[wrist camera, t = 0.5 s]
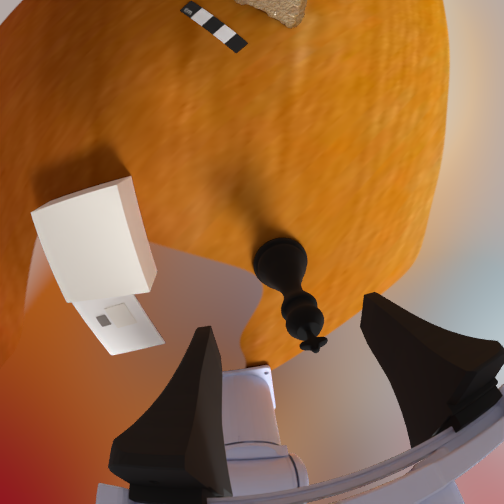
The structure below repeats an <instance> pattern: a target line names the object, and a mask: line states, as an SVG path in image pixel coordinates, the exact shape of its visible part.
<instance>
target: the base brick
mask: <svg viewBox="0 0 504 504" xmlns="http://www.w3.org/2000/svg"><path fill="white" fill-rule="evenodd" d="M31 216H32V219H33V222H34V225H35V228H36V231H37V234H38V236H39V239H40V242H41V245H42V247H43V250H44V253H45V255H46V258H47V260H48V262H49V264H50V267H51V269H52V272H53V274H54V276H55V279H56V281H57V283H58V285H59V287H60V289H61V292H62V294H63V295H64V298H65V299H66V302H67V303H70V302H78V301H87V300H95V299H102V298H110V297H118V296H125V295H133V294H140V293H147V292H150V291H151V288H152V285H153V282H154V279H155V277H156V274H157V269H156V265H155V262H154V259H153V256H152V253H151V249H150V246H149V243H148V239H147V236H146V232H145V229H144V225H143V221H142V218H141V214H140V210H139V206H138V202H137V198H136V194H135V190H134V186H133V182H132V177H131V176H128V177H125V178H121V179H117V180H114V181H110V182H107V183H103V184H100V185H97V186H93V187H90V188H87V189H84V190H81V191H77V192H74V193H71V194H68V195H66V196H63V197H60V198H57V199H54V200H51V201H49V202H47V203H46V204H44V205H42V206H41V207H39V208H37V209H36V210H34V211H33V212H31Z"/></svg>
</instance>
